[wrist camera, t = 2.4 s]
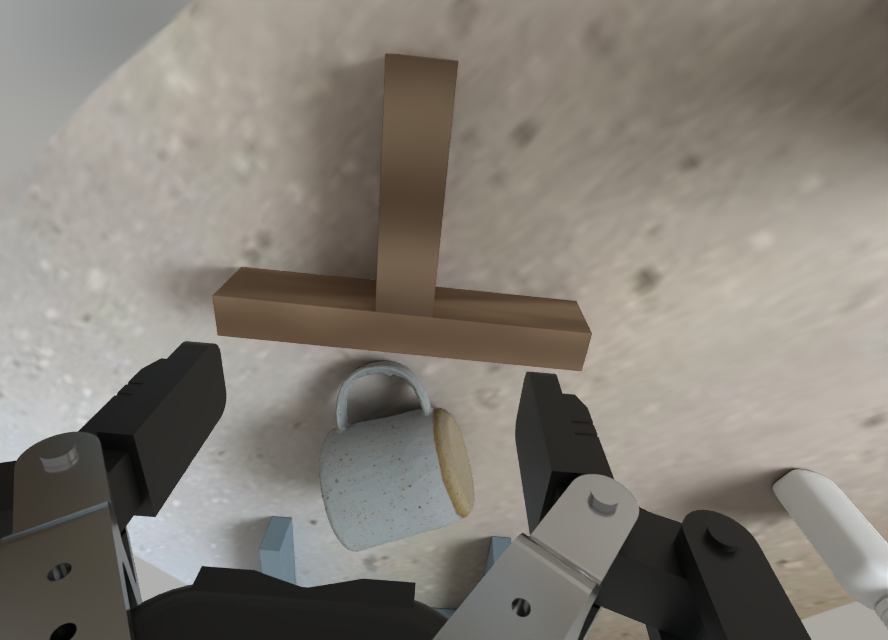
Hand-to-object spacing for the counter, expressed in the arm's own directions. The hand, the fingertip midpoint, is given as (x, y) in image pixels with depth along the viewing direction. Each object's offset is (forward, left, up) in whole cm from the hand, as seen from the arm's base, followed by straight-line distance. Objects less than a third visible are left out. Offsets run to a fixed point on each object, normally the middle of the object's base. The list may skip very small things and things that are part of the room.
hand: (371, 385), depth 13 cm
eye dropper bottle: (+18, +30, -17) cm, 38 cm away
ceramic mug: (+15, 0, -17) cm, 22 cm away
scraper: (0, 0, -16) cm, 16 cm away
